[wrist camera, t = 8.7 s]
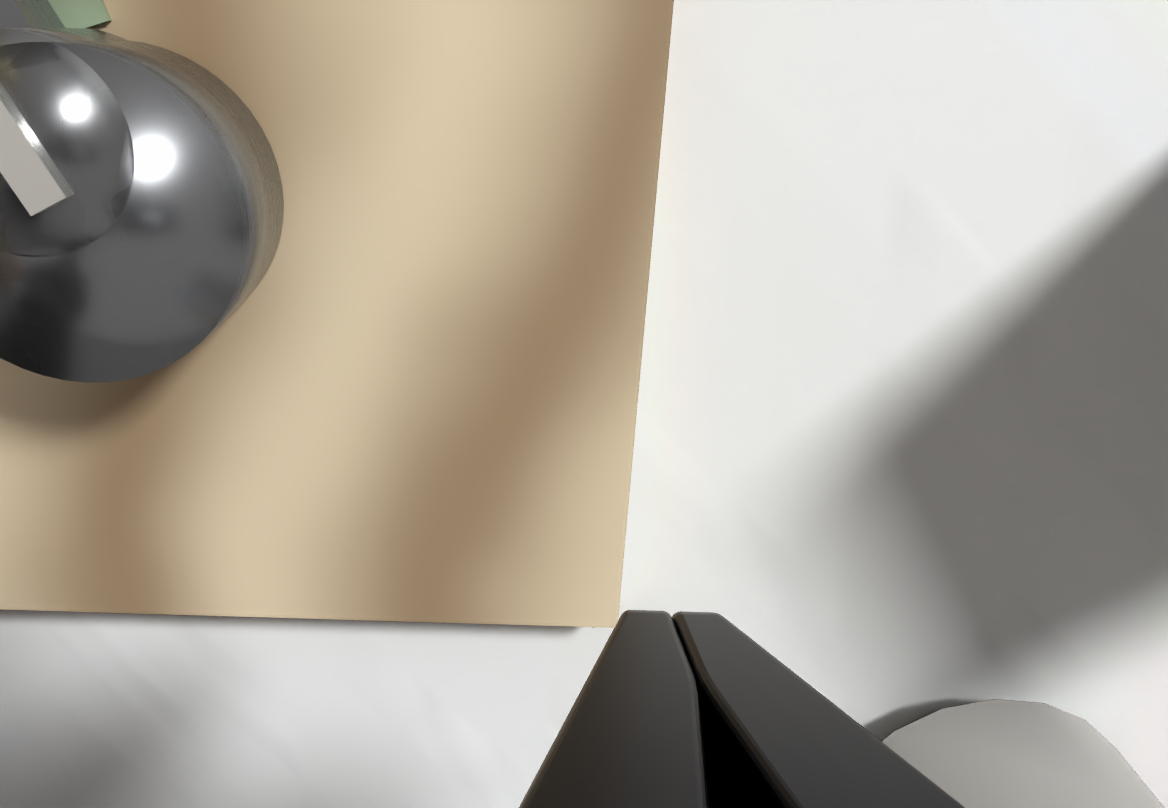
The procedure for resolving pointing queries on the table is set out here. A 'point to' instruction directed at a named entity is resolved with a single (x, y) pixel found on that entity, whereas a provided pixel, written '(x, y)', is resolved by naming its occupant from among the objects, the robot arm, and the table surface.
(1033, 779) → the can
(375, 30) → the stand
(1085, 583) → the table surface
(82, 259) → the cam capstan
